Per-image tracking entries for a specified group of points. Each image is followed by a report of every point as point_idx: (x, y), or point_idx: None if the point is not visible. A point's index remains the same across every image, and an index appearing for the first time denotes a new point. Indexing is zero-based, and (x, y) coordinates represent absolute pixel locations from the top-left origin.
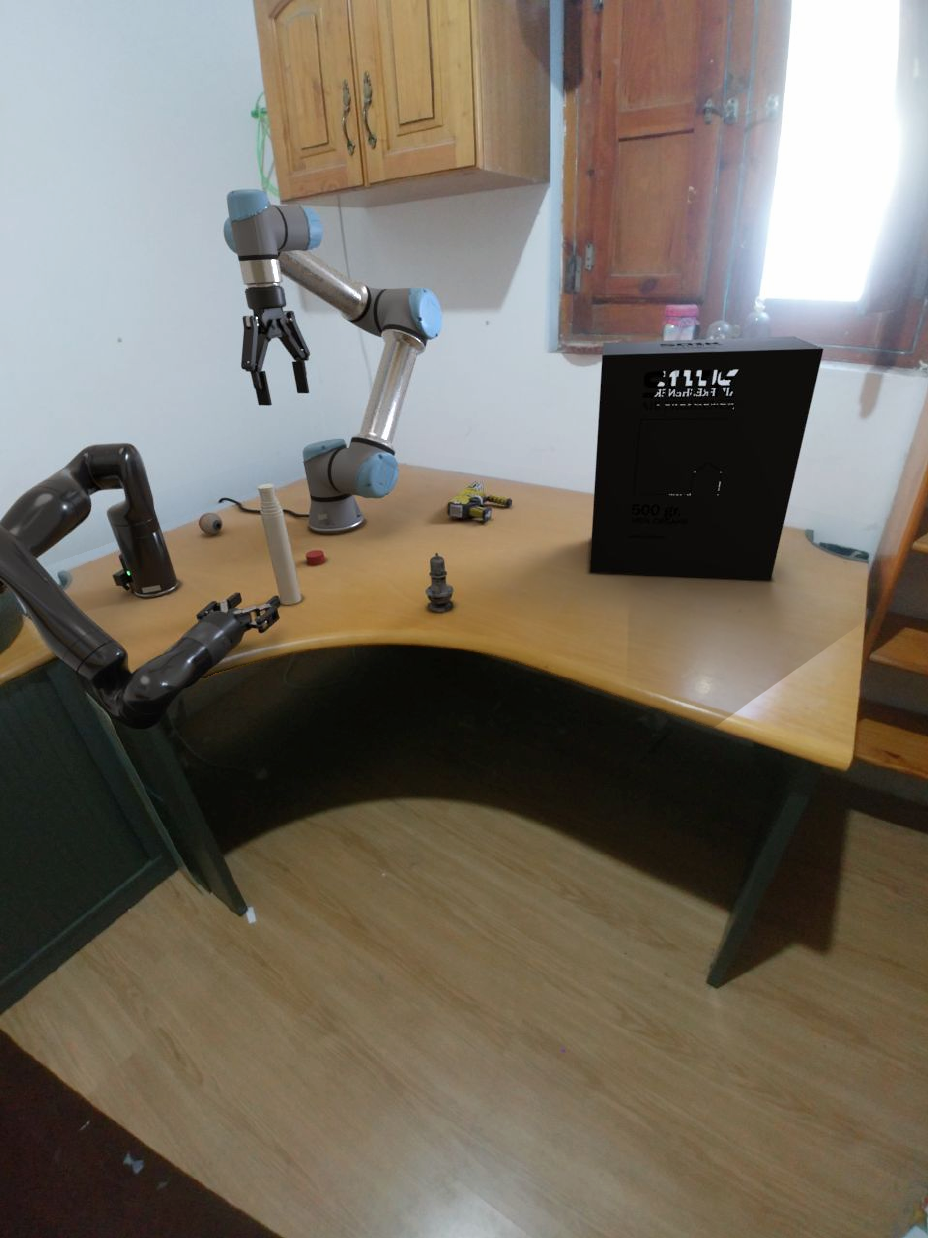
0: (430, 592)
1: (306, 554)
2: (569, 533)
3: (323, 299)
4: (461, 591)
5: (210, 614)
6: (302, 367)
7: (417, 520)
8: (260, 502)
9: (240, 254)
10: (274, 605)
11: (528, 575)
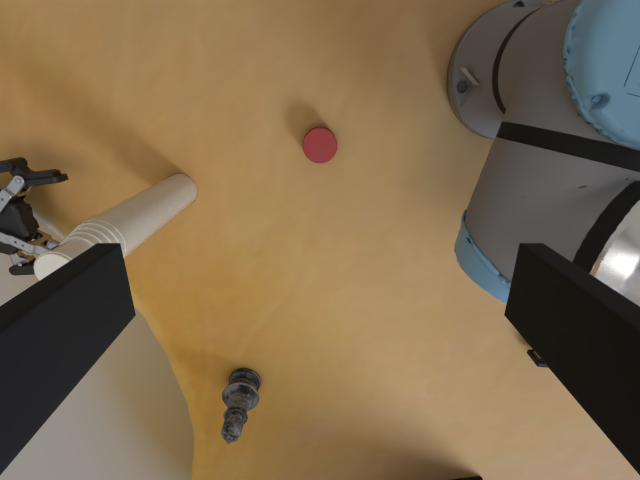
0: (227, 393)
1: (311, 132)
2: (496, 452)
3: None
4: (290, 388)
5: None
6: (622, 447)
7: None
8: (60, 243)
9: None
10: None
11: (354, 439)
